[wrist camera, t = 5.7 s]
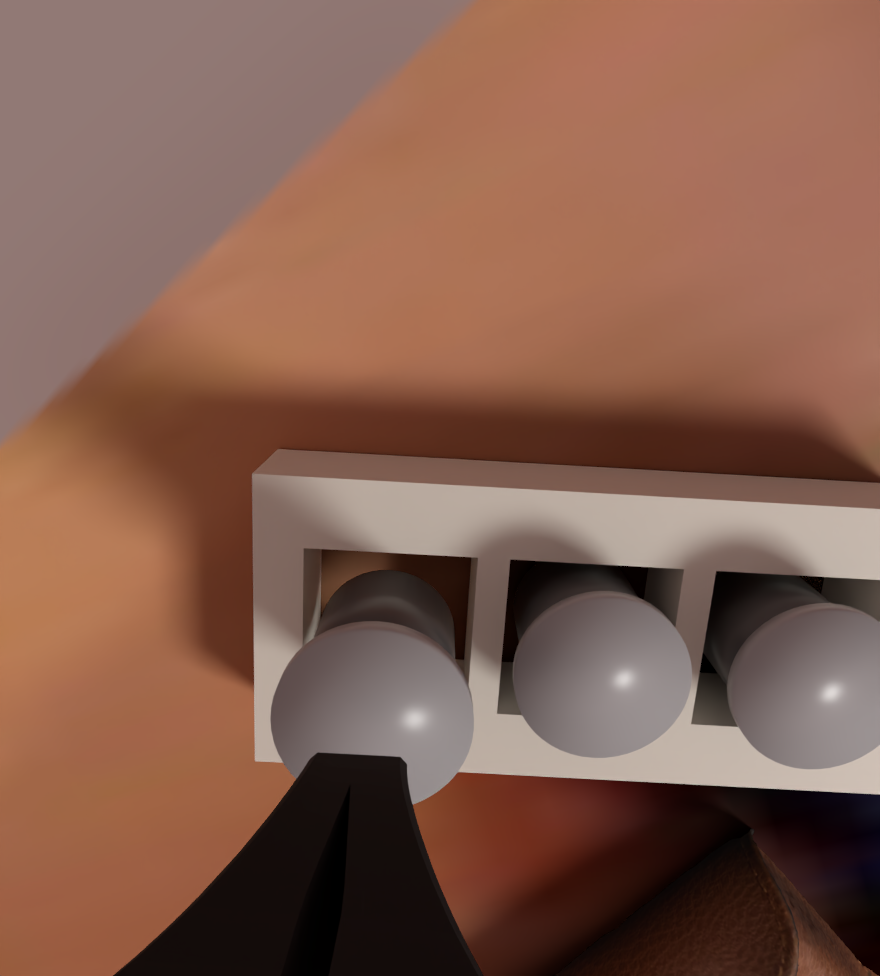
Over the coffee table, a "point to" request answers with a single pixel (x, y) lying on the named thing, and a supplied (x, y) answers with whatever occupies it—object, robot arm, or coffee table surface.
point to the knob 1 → (379, 683)
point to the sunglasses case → (723, 927)
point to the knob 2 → (795, 669)
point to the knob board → (570, 539)
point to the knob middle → (595, 661)
